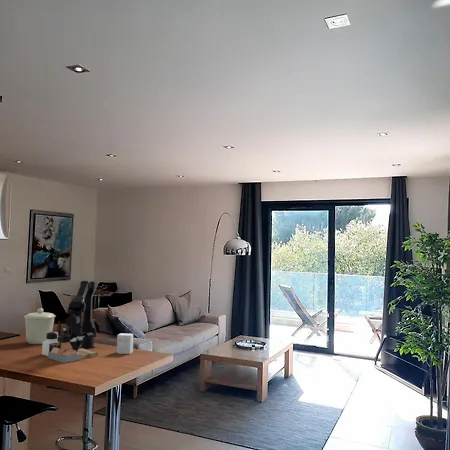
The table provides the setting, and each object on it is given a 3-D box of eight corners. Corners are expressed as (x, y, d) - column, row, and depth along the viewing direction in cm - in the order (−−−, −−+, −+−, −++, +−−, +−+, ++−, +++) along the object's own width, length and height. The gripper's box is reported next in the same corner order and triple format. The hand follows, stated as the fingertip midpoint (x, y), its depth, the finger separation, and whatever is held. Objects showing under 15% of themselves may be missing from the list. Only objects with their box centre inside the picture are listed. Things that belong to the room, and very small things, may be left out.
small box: (133, 352, 252) (133, 333, 252) (130, 354, 246) (130, 335, 247) (119, 351, 253) (120, 333, 253) (116, 353, 247) (117, 334, 248)
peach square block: (71, 353, 233) (69, 348, 232) (77, 354, 230) (75, 350, 229) (64, 359, 229) (62, 354, 229) (70, 360, 227) (68, 355, 226)
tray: (64, 355, 239) (64, 349, 240) (81, 359, 231) (81, 353, 231) (48, 358, 231) (48, 352, 232) (65, 363, 223) (65, 357, 223)
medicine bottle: (48, 356, 235) (50, 334, 236) (41, 354, 239) (42, 332, 240) (60, 354, 241) (61, 332, 242) (53, 352, 245) (54, 330, 246)
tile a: (53, 347, 233) (50, 352, 231) (59, 348, 230) (56, 353, 228) (60, 351, 236) (56, 356, 234) (65, 353, 233) (62, 358, 231)
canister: (23, 340, 274) (25, 306, 275) (54, 339, 280) (56, 306, 281) (21, 346, 257) (23, 310, 258) (54, 345, 263) (56, 310, 265)
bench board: (82, 351, 248) (82, 348, 248) (97, 355, 240) (98, 352, 240) (65, 355, 239) (65, 351, 239) (81, 359, 231) (81, 355, 231)
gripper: (81, 320, 245) (80, 348, 244) (51, 324, 230) (50, 354, 229) (94, 322, 239) (93, 351, 238) (64, 326, 223) (63, 357, 222)
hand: (74, 353), depth 232 cm, fingers closed
